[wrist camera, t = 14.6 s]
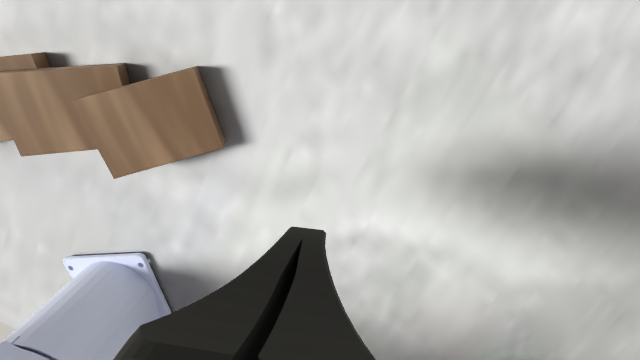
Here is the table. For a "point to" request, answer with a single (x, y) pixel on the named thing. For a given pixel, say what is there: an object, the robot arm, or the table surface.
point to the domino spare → (152, 122)
